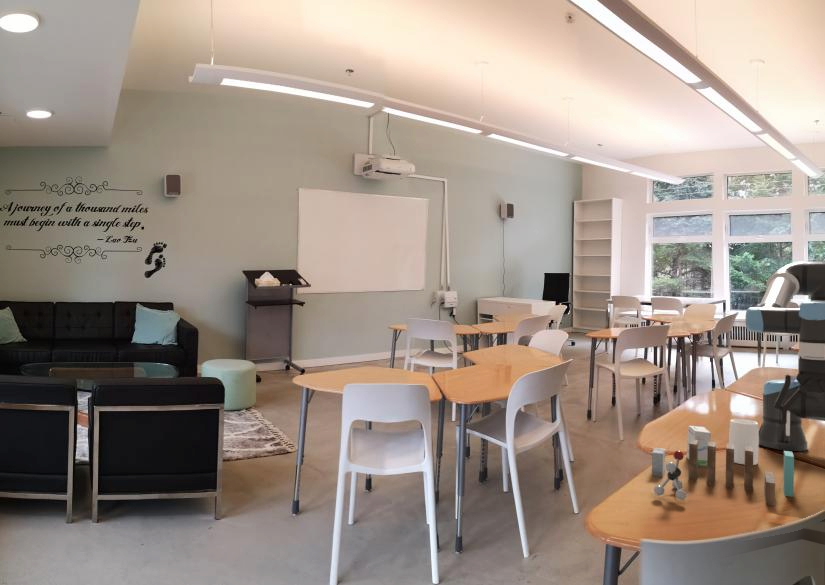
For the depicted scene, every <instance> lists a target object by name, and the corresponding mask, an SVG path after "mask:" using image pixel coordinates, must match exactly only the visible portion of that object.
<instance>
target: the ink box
mask: <svg viewBox="0 0 825 585" xmlns="http://www.w3.org/2000/svg"><path fill="white" fill-rule="evenodd" d="M687 428H688V429H687V441H686V442H687V444H686V445H687V446H686V459H687V460H688V461H689V443H690V440H691V439H692V440H698V467H704V466H705V467H706V468H707V454H708V442H712V441H711V440H712V439H711V438H712V437H711V435H712V434H711V432H710V430H708V429H707V428H706V427H704V426H696V425H688V426H687Z"/></svg>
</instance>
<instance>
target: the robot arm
mask: <svg viewBox="0 0 825 585" xmlns="http://www.w3.org/2000/svg"><path fill="white" fill-rule="evenodd" d="M795 296H809V297H810V301H804V302H800V304H799V308H797V307H796V308H792V307H791V308H790V304H791V301H792V298H794V297H795ZM745 328H746V330H747V331H748V332H752V333H753V332H754V333H761V334H762V333H763V334H764V333H765V334H766V333H768V334H789V335H790V334H792V335H793V334H794V335H799V338H798V356H799V357H800V358H798V371H797V372H798V373H797V375H790V374H785V375H784V379H783V378H781V379H773V380H772V379H771V380H767V381H765V382H764V384H763V389H762V422H761V424H760V427H759V429H758V430H759V446H763V447H765V448H770V449H775V450H781V451H790V452H802V451H806V450H808V441H807V438H806V435H805V431H804V428H803V423H802V421H803V419H805V420H812V421H813V420H814V421H822V422H825V260H823V261H822V260H819V261H817V260H816V261H815V260H814V261H794V262H792V263H791V262H790V263H788V264H786V265H783V266H780V267H779V268H778V269H776V270H775V271H773V272H772V273H771V274H770V276H769V277H768V279H767V281H766V291H765V293H764V295H763V297H762V299H761V301H760V303H759V305H758V306H753V307H751V306H750V307H748V308H747V309H746V312H745Z"/></svg>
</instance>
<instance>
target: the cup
mask: <svg viewBox="0 0 825 585" xmlns="http://www.w3.org/2000/svg"><path fill="white" fill-rule="evenodd" d="M729 422H730V423H729V431H728V432H729V434H728V436H729V437H728V444H732V445H734V464H735V463H736V464H739V465H744V466H745V446H749V447H753V466H756V465H757V464H758V463H759V462H758V461H759V448H760V447H759V446H760V444H759V430H760V429H759V423H758V422H757V421H755V420H750V419H742V418H741V419H740V418H732V419H730V421H729Z"/></svg>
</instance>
